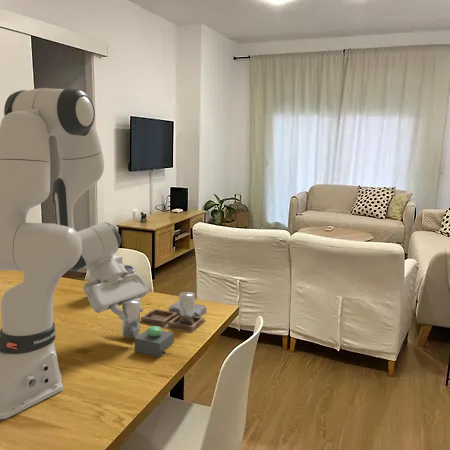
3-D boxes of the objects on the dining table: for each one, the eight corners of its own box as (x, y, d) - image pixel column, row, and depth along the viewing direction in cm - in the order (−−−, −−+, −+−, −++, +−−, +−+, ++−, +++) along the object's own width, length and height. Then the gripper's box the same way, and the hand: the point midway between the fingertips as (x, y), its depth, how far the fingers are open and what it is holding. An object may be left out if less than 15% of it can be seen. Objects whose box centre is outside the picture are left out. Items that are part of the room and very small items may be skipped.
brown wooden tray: (191, 336, 138) (191, 328, 138) (138, 325, 145) (138, 318, 145) (206, 323, 149) (206, 316, 148) (156, 314, 156) (156, 307, 155)
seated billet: (189, 328, 142) (190, 297, 140) (175, 325, 144) (176, 295, 142) (196, 322, 146) (197, 293, 145) (183, 320, 148) (183, 291, 147)
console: (159, 357, 124) (159, 343, 123) (134, 351, 127) (134, 338, 126) (173, 345, 131) (173, 332, 131) (149, 340, 134) (149, 328, 134)
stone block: (178, 313, 163) (166, 317, 153) (179, 300, 163) (167, 303, 153) (208, 319, 159) (198, 323, 149) (210, 305, 159) (200, 309, 149)
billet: (134, 338, 130) (134, 305, 129) (119, 335, 132) (119, 302, 130) (142, 332, 135) (143, 300, 133) (128, 329, 136) (128, 297, 135)
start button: (156, 349, 126) (157, 332, 126) (144, 346, 128) (144, 330, 127) (164, 344, 130) (164, 327, 129) (152, 341, 131) (152, 325, 131)
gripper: (86, 278, 125) (111, 319, 122) (137, 264, 143) (161, 300, 139) (75, 290, 128) (100, 331, 125) (127, 276, 146) (150, 311, 142)
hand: (132, 315), depth 132 cm, fingers closed on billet, 5 cm apart
